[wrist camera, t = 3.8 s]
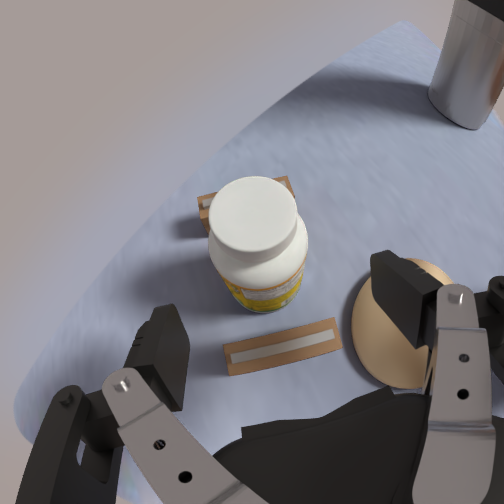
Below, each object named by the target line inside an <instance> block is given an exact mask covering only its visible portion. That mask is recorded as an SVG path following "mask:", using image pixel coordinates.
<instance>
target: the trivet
mask: <svg viewBox="0 0 504 504" xmlns="http://www.w3.org/2000/svg"><path fill="white" fill-rule="evenodd" d="M406 259H407V260H410V261H413V262H414V263H416V264H417V265H418V266H420V268H422V269H424V270H425V271H426V273H427V272H428V273H429V274H431V275H432V276H433V277H435V278H436V279H437V280H439V281H440V282H441V283H442V284H444V285H448V284H454V283H453V282H452V280H451V279H450V278H449V277H448V276H447V275H446V274H445V273H444V272H443V271H442V270H441V269H439V268H438V267H436V266H435V265H433V264H431V263H429V262H426V261H423V260H419V259H412V258H406ZM351 333H352V340H353V344H354V347H355V350H356V353H357V355H358V357H359V359H360V361H361V363H362V364H363V366H364V367H365V368H366V370H367V371H368V372H369V373H370V374H371V375H372V376H373V377H375V378H376V379H377V380H379V381H381V382H382V383H384V384H386V385H389V386H392V387H396V388H404V389H414V388H420V387H422V386H423V380H424V373H425V366H426V359H427V352H428V348H429V347H428V346H427V345H425V346H423V347H420V348H418V349H416V350H415V348H414V347H413V346H412V345H411V344H410V342H409V341H408V340H407V339H406V337H405V336H404V335H403V334H402V333H401V331H400V330H399V329H398V328H397V327H396V325H395V324H394V323H393V322H392V321H391V319H390V318H389V317H388V316H387V315H386V314H385V312H384V311H383V310H382V309H381V308H380V307H379V305H378V304H377V303H376V302H375V300H374V298H373V295H372V290H371V276H370V277H369V279H368V280H367V281H366V282H365V284H364V285H363V286H362V288H361V290H360V291H359V293H358V295H357V298H356V300H355V303H354V307H353V310H352V317H351Z"/></svg>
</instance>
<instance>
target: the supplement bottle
mask: <svg viewBox="0 0 504 504" xmlns="http://www.w3.org/2000/svg"><path fill="white" fill-rule="evenodd" d="M208 218H209V225H210V228H211V229H210V233H209V239H208V248H209V254H210V257H211V260H212V262H213V264H214V266H215V268H216V269H217V271H218V273H219V274H220V276H221V277H222V279H223V281H224V282H225V284H226V285H227V287H228V288H229V290H230V292H231V293H232V295H233V296H234V298H235V299H236V300H237V301H238V302H239V303H240V304H241V305H242V306H244V307H245V308H246V309H248V310H250V311H253V312H257V313H271V312H275V311H278V310H280V309H282V308H284V307H286V306H287V305H288V304H290V303H291V301H292V300H293V299H294V298H295V296H296V295H297V293H298V291H299V288H300V285H301V281H302V276H303V270H304V265H305V260H306V255H307V249H308V236H307V230H306V227H305V224H304V222H303V220H302V219H301V217H300V216H299V214H298V213H297V206H296V202H295V200H294V197H293V196H292V194H291V193H290V191H289V190H288V189H287V188H286V187H285V186H284V185H282V184H281V183H279V182H277V181H275V180H273V179H270V178H266V177H261V176H249V177H244V178H240V179H237V180H235V181H232V182H230V183H229V184H227V185H225V186H224V187H223V188H222V189H221V190H220V191H219V192H218V193H217V194H216V195H215V197H214V198H213V200H212V202H211V205H210V208H209V217H208Z"/></svg>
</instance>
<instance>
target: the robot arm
mask: <svg viewBox="0 0 504 504" xmlns="http://www.w3.org/2000/svg"><path fill="white" fill-rule="evenodd" d="M503 87H504V0H455V2H454V6H453V10H452V15H451V19H450V23H449V27H448V31H447V34H446V38H445V41H444V44H443V48H442V51H441V54H440V58H439V61H438V64H437V67H436V70H435V73H434V76H433V79H432V82H431V84H430V87H429V90H428V97H429V99H430V101H431V102H432V104H433V105H434V106H435V107H436V108H437V109H438V110H439V111H440V112H441V113H442V114H443V115H444V116H446V117H447V118H449V119H450V120H452V121H453V122H455V123H456V124H458V125H460V126H463V127H465V128H468V129H479V128H480V127H481V126H482V124H483V122H486V120H487V118H488V116H489V114H490V113H491V111H492V109H493V107H494V105H495V103H496V101H497V99H498V97H499V95H500V93H501V91H502V89H503ZM370 267H371V290H372V295H373V298H374V300H375V302H376V303H377V304H378V305H379V307H380V308H381V309H382V310H383V311H384V312H385V314H386V315H387V316H388V317H389V318H390V319H391V321H392V322H393V323H394V324H395V325H396V327H397V328H398V329H399V330H400V331H401V333H402V334H403V335H404V336H405V337H406V339H407V340H408V341H409V342H410V344H411V345H412V346H413V347H414V348H415V350H416V349H418V348H420V347H423V346H425V345H427V346H428V347H429V348H428V352H427V359H426V366H425V373H424V380H423V386H422V391H421V394H416V393H403V394H395V395H394V393H393V392H392V390H391V388H390V387H389V386H386V387H384V388H381V389H379V390H376V391H374V392H371V393H368V394H366V395H363V396H360V397H357V398H355V399H353V400H352V401H350V402H348V403H346V404H345V405H343V406H341V407H340V408H338V409H336V410H334V411H332V412H331V413H329V414H327V415H325V416H323V417H320V418H313V419H295V420H277V421H272V422H267V423H262V424H257V425H252V426H246V427H241V431H242V438H240V439H238V440H236V441H234V442H231V443H229V444H228V445H226V446H224V447H223V448H221V449H220V450H219V451H217V452H216V453H215V454H214V455H213V456H212V455H211V454H210V453H209V452H208V451H207V450H206V449H205V448H204V447H203V446H202V445H201V444H200V443H199V442H198V441H197V440H196V439H195V438H194V437H193V436H192V435H191V434H190V433H189V432H188V431H187V429H186V428H185V427H184V426H183V425H182V424H181V423H180V422H179V421H178V419H177V418H176V417H175V416H174V415H173V414H172V412H176V411H182V408H183V399H184V391H185V383H186V375H187V367H188V360H189V353H190V342H189V338H188V335H187V333H186V330H185V328H184V326H183V323H182V321H181V319H180V316H179V314H178V311H177V309H176V307H175V305H174V304H168V305H164V306H159V307H155V308H154V310H153V313H152V315H151V318H150V320H149V321H146V322H145V323H144V324H143V325H142V326H141V327H140V328H139V329H138V332H137V334H136V336H135V340H134V341H133V344H132V347H131V349H130V351H129V354H128V356H127V359H126V362H125V364H124V367H123V368H122V369H119V370H117V371H115V372H113V373H111V374H110V375H109V376H108V377H107V378H106V379H105V381H104V383H103V385H102V390H99V391H96V392H93V393H90V394H87V395H85V394H84V392H83V391H82V390H81V388H80V387H78V386H76V385H70V386H67V387H64V388H63V389H61V390H60V391H58V392H57V393H56V395H55V396H54V397H53V399H52V401H51V404H50V406H49V408H48V410H47V413H46V415H45V418H44V420H43V422H42V425H41V427H40V430H39V432H38V435H37V437H36V440H35V443H34V445H33V448H32V451H31V454H30V457H29V459H28V462H27V465H26V468H25V471H24V475H23V478H22V481H21V485H20V488H19V492H18V495H17V499H16V503H15V504H115V503H116V494H117V485H118V478H119V471H120V464H121V457H122V451H123V446H126V448H127V449H128V451H129V453H130V454H131V456H132V458H133V459H134V461H135V463H136V464H137V466H138V467H139V469H140V471H141V472H142V474H143V475H144V477H145V478H146V480H147V481H148V483H149V484H150V486H151V487H152V489H153V490H154V491H155V493H156V494H157V496H158V497H159V498H160V500H161V501H162V502H163V504H504V418H500V417H497V416H493V415H492V387H491V369H492V370H493V372H494V373H495V374H496V375H497V377H498V378H499V379H500V380H501V382H502V383H503V384H504V276H496V277H493V278H492V279H490V281H489V285H488V291H485V292H480V293H475V294H473V292H472V291H471V290H470V289H469V288H468V287H466V286H464V285H460V284H448V285H444V284H442V283H441V282H440V281H439V280H437V279H436V278H435V277H433V276H432V275H431V274H429V273H428V272H427V273H426V271H425V270H424V269H422V268H420V266H418V265H417V264H416V263H414V262H413V261H410V260H407V259H404V258H400V257H398V256H397V255H395V254H394V253H393V252H391V251H390V250H385V251H382V252H378V253H375V254H372V255H371V257H370ZM80 439H81V440H82V441H83V442H84V443H85V444H86V446H85V450H84V453H83V457H82V462H81V466H80V465H79V464H78V462H77V458H76V453H77V449H78V446H79V442H80Z"/></svg>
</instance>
